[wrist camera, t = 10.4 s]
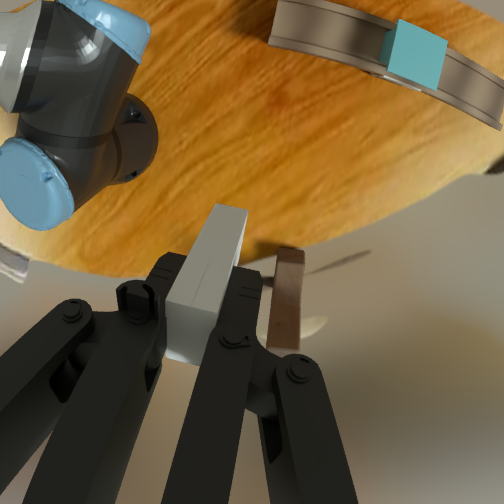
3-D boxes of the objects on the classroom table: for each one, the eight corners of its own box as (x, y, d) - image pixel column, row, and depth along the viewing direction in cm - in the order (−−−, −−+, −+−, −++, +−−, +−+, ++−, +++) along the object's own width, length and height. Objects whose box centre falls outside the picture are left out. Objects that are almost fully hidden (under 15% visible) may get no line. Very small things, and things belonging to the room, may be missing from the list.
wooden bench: (272, 50, 36) (267, 45, 29) (282, 3, 32) (279, -11, 25) (473, 120, 36) (500, 132, 29) (484, 79, 32) (512, 85, 25)
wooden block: (278, 246, 53) (270, 324, 38) (305, 249, 52) (306, 328, 37) (272, 288, 57) (263, 367, 42) (297, 291, 57) (294, 370, 42)
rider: (376, 70, 30) (387, 70, 26) (386, 24, 26) (399, 18, 22) (420, 87, 30) (436, 91, 26) (431, 42, 26) (447, 41, 22)
